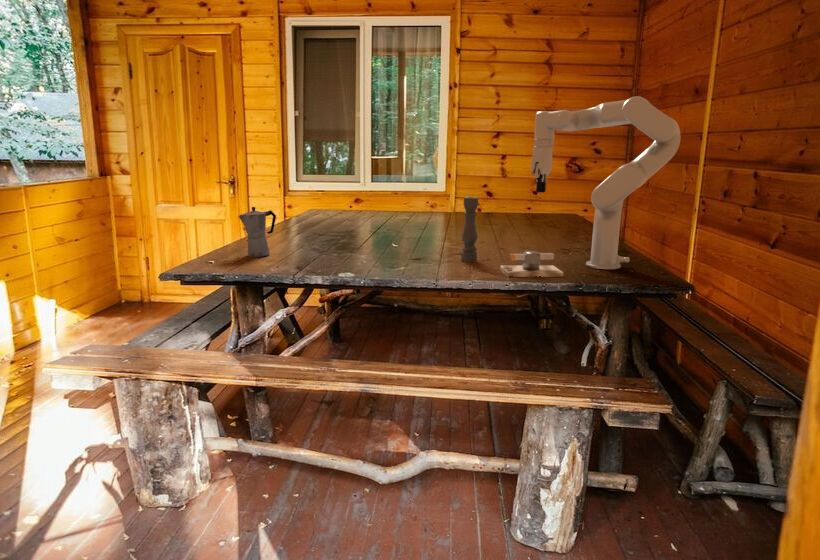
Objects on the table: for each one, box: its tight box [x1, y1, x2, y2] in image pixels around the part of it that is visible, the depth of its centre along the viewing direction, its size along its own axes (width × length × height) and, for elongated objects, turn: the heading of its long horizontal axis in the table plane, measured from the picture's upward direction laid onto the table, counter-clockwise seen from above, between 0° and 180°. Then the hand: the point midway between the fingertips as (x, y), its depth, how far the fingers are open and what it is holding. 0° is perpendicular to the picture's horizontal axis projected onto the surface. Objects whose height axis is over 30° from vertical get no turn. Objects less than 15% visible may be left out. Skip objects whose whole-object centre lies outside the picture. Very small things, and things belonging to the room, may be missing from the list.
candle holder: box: [460, 196, 479, 263], centre depth 222 cm, size 6×6×25 cm
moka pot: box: [238, 206, 277, 258], centre depth 229 cm, size 10×15×20 cm, turn 127°
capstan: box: [508, 250, 555, 270], centre depth 203 cm, size 16×6×6 cm, turn 99°
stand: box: [499, 264, 564, 278], centre depth 204 cm, size 20×12×2 cm, turn 93°
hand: (540, 192), depth 222 cm, fingers closed
